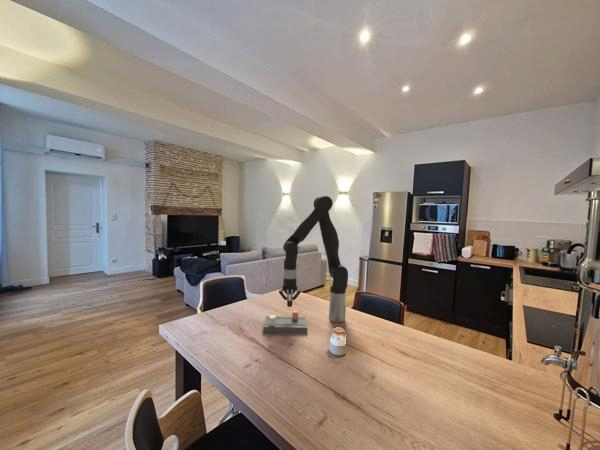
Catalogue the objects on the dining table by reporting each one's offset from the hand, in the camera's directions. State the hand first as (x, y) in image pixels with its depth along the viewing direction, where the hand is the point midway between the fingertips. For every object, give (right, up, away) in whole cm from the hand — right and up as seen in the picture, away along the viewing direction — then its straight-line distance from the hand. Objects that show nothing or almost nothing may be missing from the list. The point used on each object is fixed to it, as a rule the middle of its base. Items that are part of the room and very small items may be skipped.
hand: (289, 306), depth 142 cm
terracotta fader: (+3, -7, 0) cm, 7 cm away
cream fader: (-9, -7, -8) cm, 14 cm away
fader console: (-2, -10, -4) cm, 11 cm away
